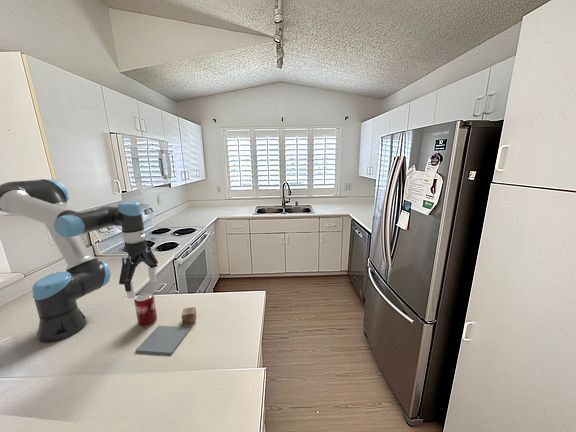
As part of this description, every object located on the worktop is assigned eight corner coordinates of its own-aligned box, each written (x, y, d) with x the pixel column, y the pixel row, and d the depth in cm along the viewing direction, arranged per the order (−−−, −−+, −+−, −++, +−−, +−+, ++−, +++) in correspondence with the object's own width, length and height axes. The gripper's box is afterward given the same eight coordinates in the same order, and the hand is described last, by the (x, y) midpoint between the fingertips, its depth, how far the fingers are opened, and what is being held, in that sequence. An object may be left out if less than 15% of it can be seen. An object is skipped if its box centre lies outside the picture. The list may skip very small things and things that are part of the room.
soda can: (153, 314, 114) (149, 290, 111) (160, 321, 109) (156, 295, 107) (135, 322, 108) (131, 297, 106) (142, 329, 104) (138, 303, 101)
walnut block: (182, 325, 106) (181, 315, 105) (184, 318, 111) (183, 308, 109) (195, 323, 107) (194, 313, 106) (196, 317, 112) (195, 306, 111)
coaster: (135, 352, 92) (135, 350, 91) (158, 327, 105) (158, 325, 105) (171, 354, 90) (171, 352, 90) (190, 329, 104) (190, 327, 103)
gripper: (120, 251, 88) (130, 306, 93) (162, 232, 112) (168, 276, 117) (100, 251, 89) (111, 305, 94) (146, 231, 113) (153, 275, 118)
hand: (143, 289), depth 105 cm, fingers open, 13 cm apart
